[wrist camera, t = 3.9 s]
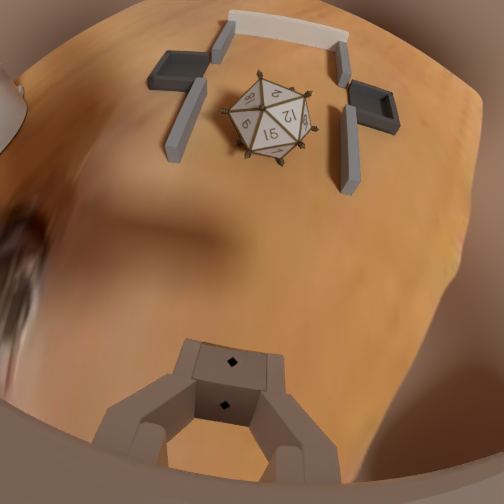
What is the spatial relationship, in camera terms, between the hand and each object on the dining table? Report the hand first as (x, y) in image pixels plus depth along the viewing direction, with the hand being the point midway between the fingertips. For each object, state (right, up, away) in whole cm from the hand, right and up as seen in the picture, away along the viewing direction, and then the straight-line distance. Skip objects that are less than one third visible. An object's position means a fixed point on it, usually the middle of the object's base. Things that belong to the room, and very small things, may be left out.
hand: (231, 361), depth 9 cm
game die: (+2, +14, +21) cm, 26 cm away
